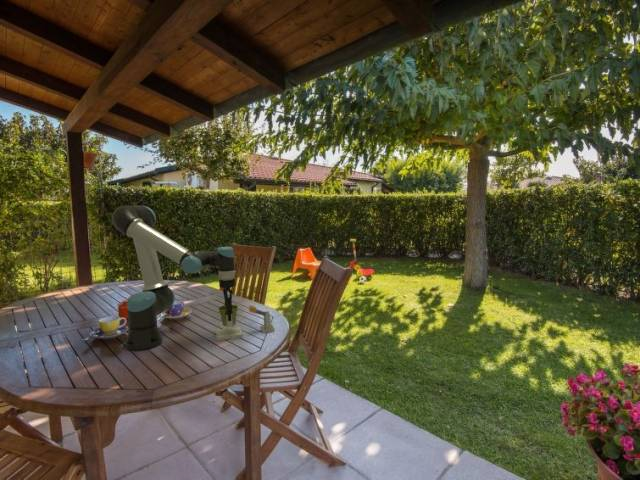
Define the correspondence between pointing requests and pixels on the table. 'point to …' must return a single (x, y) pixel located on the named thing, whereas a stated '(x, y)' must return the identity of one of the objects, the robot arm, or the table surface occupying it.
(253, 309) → the press lever
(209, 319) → the table surface
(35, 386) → the table surface
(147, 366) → the table surface
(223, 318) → the plant pot
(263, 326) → the lever stand
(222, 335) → the plate
